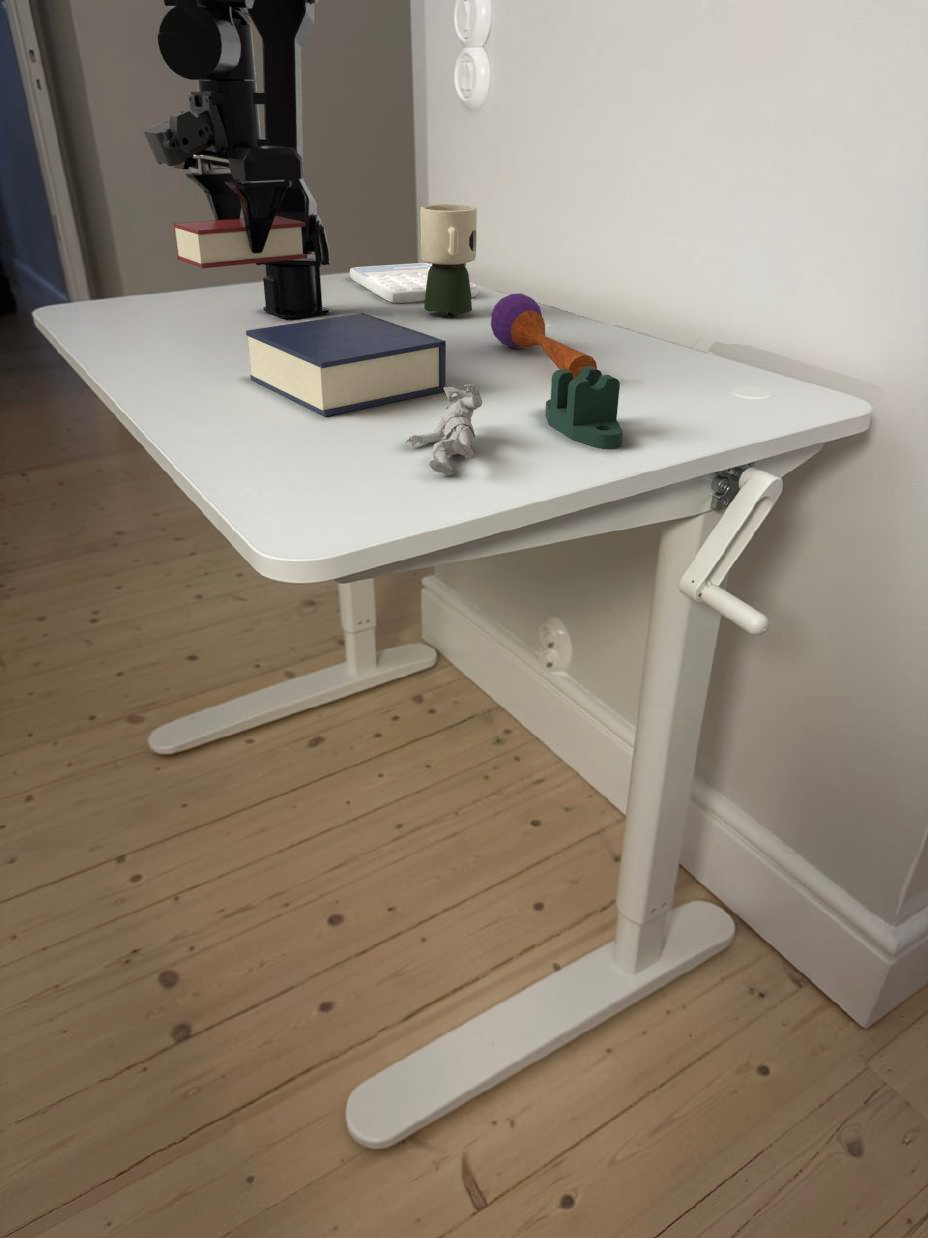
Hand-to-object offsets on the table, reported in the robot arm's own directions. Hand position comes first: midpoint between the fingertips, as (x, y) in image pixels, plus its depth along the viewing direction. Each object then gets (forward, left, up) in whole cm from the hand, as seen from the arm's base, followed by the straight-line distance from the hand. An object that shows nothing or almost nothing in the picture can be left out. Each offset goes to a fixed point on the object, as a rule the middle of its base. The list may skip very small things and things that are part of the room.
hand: (243, 248), depth 101 cm
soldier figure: (+1, +38, -11) cm, 40 cm away
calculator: (-36, -21, -11) cm, 43 cm away
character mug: (-30, -4, -11) cm, 33 cm away
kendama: (-24, +21, -11) cm, 34 cm away
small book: (0, 0, -1) cm, 1 cm away
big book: (-2, +16, -11) cm, 20 cm away
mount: (-12, +40, -11) cm, 44 cm away
